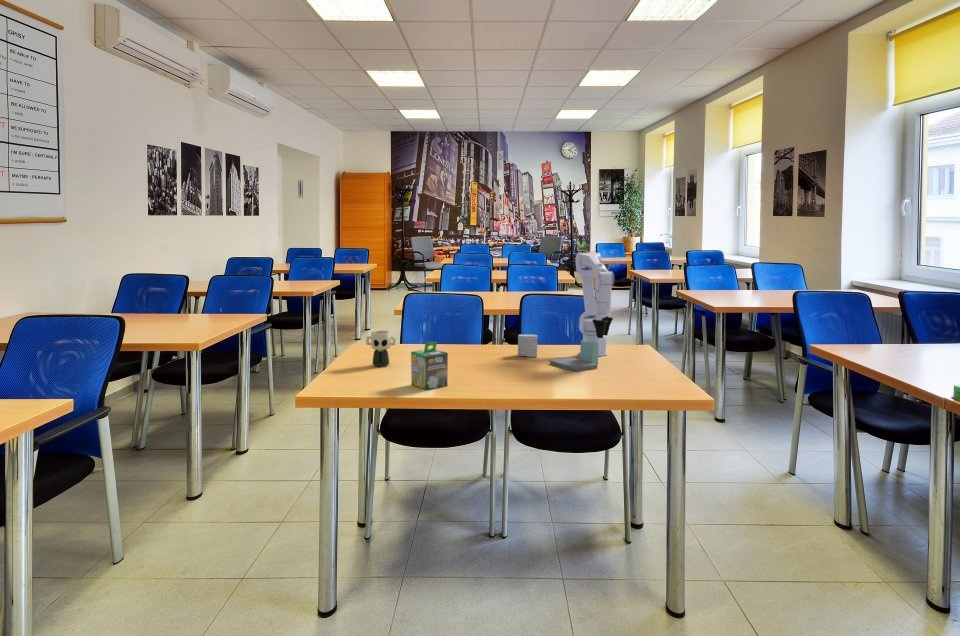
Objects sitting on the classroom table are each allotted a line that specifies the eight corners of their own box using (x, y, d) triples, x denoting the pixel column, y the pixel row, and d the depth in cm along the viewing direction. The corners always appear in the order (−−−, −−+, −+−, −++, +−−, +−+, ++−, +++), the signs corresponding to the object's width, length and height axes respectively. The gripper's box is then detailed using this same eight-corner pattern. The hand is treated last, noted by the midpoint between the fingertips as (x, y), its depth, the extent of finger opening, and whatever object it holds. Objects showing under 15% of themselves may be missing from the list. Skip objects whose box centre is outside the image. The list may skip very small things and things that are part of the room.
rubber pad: (571, 361, 255) (571, 357, 255) (597, 368, 242) (597, 364, 242) (549, 363, 249) (549, 360, 249) (575, 371, 237) (575, 367, 236)
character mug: (365, 367, 238) (365, 333, 236) (367, 363, 245) (367, 330, 243) (395, 367, 238) (394, 333, 237) (396, 363, 245) (395, 330, 244)
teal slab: (585, 362, 254) (586, 339, 252) (597, 365, 248) (598, 342, 247) (579, 362, 252) (580, 340, 251) (592, 366, 246) (593, 343, 245)
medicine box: (537, 355, 265) (537, 334, 264) (536, 357, 261) (537, 336, 260) (518, 354, 266) (518, 334, 265) (517, 356, 262) (518, 336, 260)
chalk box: (432, 380, 220) (432, 338, 218) (448, 386, 213) (448, 342, 211) (410, 384, 214) (410, 341, 212) (425, 390, 207) (425, 345, 205)
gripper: (597, 300, 258) (596, 333, 260) (588, 303, 245) (587, 338, 247) (615, 301, 255) (614, 334, 257) (607, 304, 242) (605, 339, 244)
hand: (602, 336), depth 252 cm, fingers open, 7 cm apart
